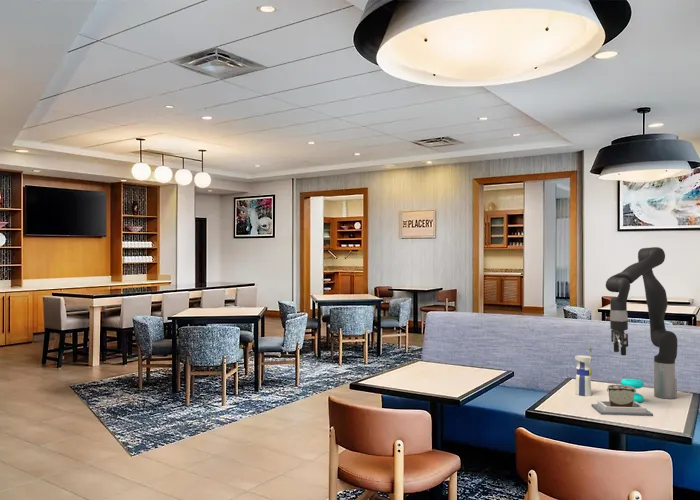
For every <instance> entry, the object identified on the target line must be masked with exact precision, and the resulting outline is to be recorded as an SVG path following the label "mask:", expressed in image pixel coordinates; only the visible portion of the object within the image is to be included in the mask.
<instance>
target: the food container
mask: <svg viewBox="0 0 700 500" xmlns="http://www.w3.org/2000/svg"><path fill="white" fill-rule="evenodd" d="M606 392H608V401H610V407H633V403H634V394H635V393H637V389H635V388H634V387H631V386H626V385H622V384H609V385H607V388H606Z"/></svg>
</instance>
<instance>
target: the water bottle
mask: <svg viewBox="0 0 700 500" xmlns="http://www.w3.org/2000/svg"><path fill="white" fill-rule="evenodd" d="M588 350H589V351H588V353H593V351H592V350H593V348H592V347H591V346H589V348H588ZM574 360H576V363H577V364H576V367H575V369H576V375H575V391H574V395H577V396H579V397H591V396H592V377H591V376H592V369H591V366H590V363H592V360H593V359H592V356H590V355H586V354H585V355H584V354H576V355H575V356H574Z"/></svg>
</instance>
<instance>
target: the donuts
mask: <svg viewBox="0 0 700 500" xmlns="http://www.w3.org/2000/svg"><path fill="white" fill-rule="evenodd" d="M620 383H621V384H620V385H626V386H631V387H634V388H635V389H636V390H639V389H641V388H644V385H645V384H644V382H643V380H640V379H636V378H623V379H621V381H620ZM644 397H645V396H643V395H642V394H640V393H638V392H635V394H634V402H638V403H639V404H641V403H642V402H643V401H644V399H645V398H644Z"/></svg>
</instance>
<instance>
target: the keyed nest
mask: <svg viewBox="0 0 700 500" xmlns="http://www.w3.org/2000/svg"><path fill="white" fill-rule="evenodd" d="M590 406H591V407H592V408H593V409H594V410H595V411H596V412H598V413H599V414H600V415H604V416H605V415H606V416H633V417H635V416H637V417H638V416H639V417H654V413H652V412H651V411H650V410H649V409H647V408H646V407H645V406H644V405H642V404H641V403H638V402H634V403H633V407H610V401H609V400H597V403H591V405H590Z"/></svg>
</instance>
